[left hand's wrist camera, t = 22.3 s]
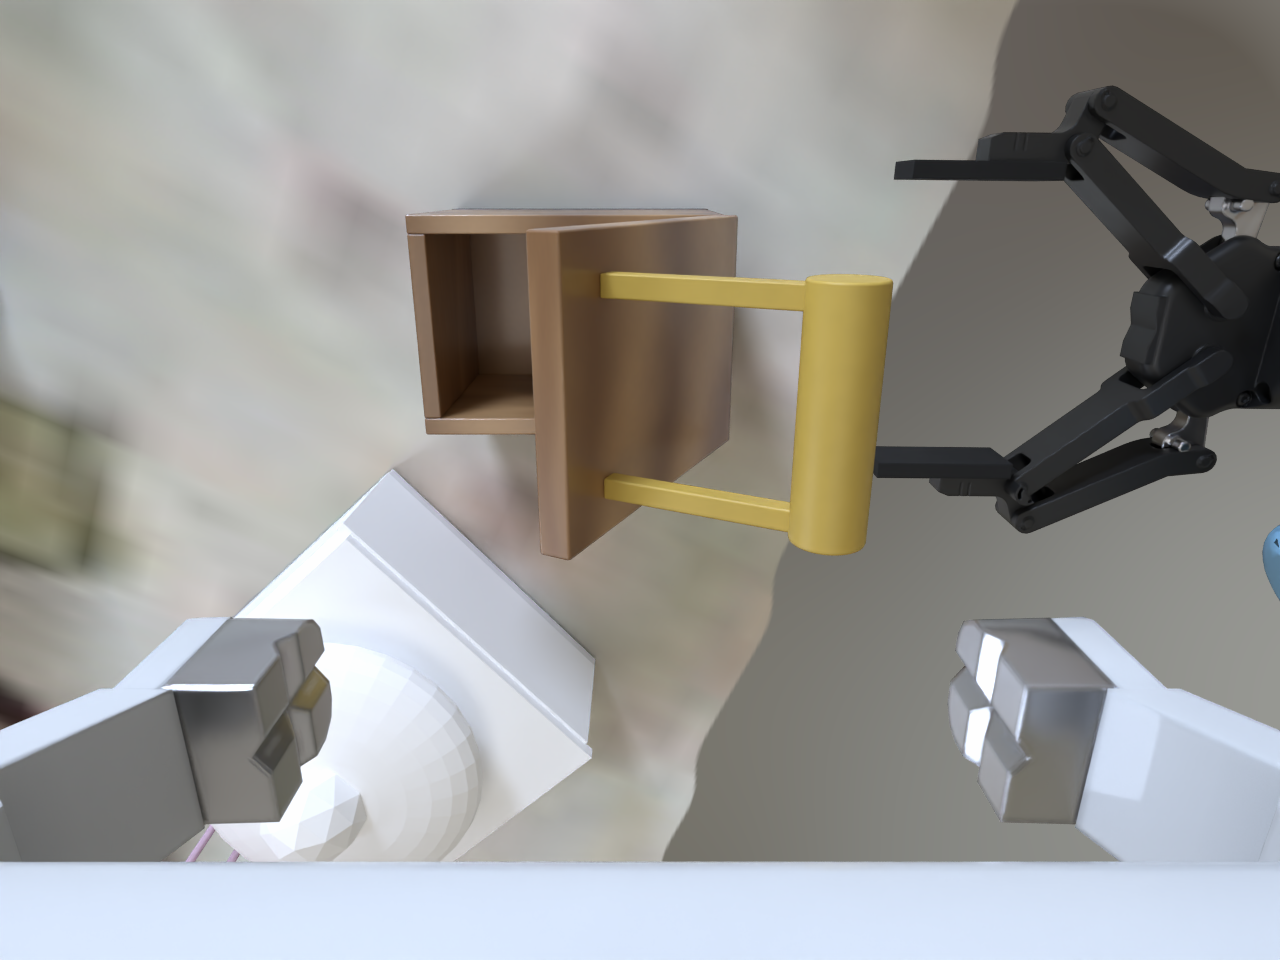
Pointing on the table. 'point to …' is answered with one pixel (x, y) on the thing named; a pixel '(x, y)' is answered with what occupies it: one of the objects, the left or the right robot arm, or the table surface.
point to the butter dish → (420, 692)
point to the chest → (484, 311)
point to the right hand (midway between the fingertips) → (885, 324)
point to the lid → (690, 381)
